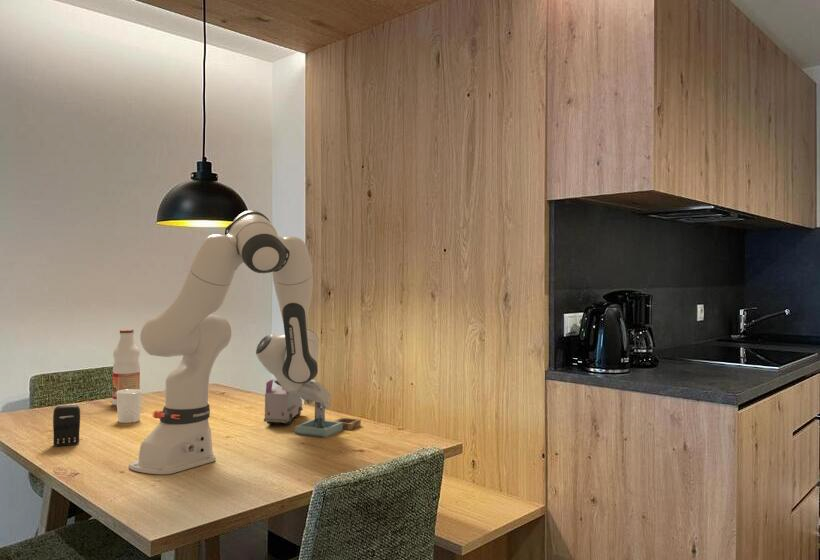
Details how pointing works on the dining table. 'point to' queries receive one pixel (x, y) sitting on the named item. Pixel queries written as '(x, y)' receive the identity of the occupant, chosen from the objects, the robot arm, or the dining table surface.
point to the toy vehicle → (281, 405)
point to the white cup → (129, 405)
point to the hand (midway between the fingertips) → (319, 404)
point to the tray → (309, 429)
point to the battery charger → (66, 425)
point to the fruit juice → (125, 364)
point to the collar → (349, 423)
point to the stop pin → (319, 416)
